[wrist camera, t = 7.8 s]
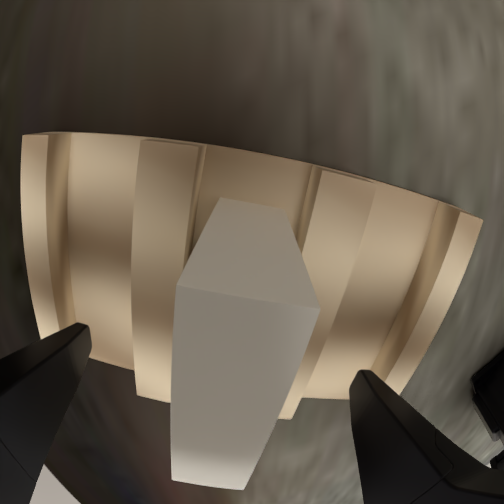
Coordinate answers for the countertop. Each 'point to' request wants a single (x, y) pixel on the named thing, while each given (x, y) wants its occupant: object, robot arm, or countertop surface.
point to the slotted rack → (189, 230)
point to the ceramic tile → (236, 341)
